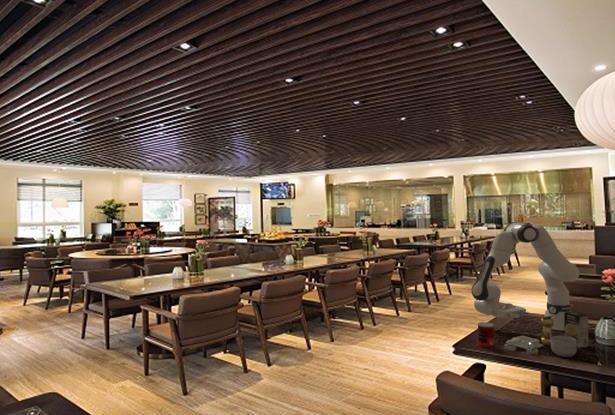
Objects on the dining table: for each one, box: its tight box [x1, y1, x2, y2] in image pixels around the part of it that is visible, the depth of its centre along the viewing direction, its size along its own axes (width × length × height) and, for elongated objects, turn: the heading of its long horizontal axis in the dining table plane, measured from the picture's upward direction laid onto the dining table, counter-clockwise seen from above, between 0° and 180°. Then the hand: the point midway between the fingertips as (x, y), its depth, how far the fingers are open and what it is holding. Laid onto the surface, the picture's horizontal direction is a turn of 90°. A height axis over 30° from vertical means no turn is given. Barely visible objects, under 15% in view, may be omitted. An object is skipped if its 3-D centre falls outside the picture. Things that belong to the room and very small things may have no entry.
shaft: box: [525, 340, 539, 356], centre depth 209 cm, size 9×4×4 cm, turn 166°
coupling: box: [540, 315, 553, 347], centre depth 220 cm, size 6×6×14 cm
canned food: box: [477, 321, 495, 349], centre depth 218 cm, size 8×8×11 cm
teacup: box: [550, 335, 578, 358], centre depth 204 cm, size 14×11×8 cm
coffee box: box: [563, 310, 589, 348], centre depth 219 cm, size 9×6×16 cm
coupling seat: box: [503, 335, 545, 352], centre depth 216 cm, size 20×12×4 cm, turn 121°
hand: (524, 315), depth 230 cm, fingers open, 8 cm apart
